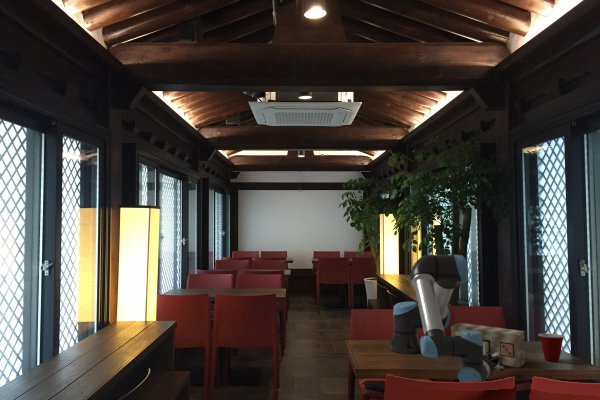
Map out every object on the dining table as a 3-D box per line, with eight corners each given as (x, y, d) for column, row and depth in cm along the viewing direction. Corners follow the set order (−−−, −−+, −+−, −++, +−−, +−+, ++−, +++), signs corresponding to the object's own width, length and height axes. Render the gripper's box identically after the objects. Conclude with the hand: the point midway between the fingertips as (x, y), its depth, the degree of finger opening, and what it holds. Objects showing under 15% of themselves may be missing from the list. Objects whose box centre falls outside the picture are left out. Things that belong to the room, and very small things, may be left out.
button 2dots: (473, 353, 209) (473, 342, 209) (479, 350, 216) (478, 339, 216) (484, 355, 206) (484, 344, 206) (490, 351, 213) (490, 340, 213)
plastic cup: (560, 358, 219) (559, 332, 220) (568, 364, 209) (568, 337, 209) (535, 356, 221) (535, 331, 222) (542, 363, 211) (541, 336, 211)
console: (451, 356, 222) (451, 326, 223) (459, 351, 230) (458, 322, 231) (519, 367, 204) (518, 335, 204) (524, 362, 212) (524, 331, 213)
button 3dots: (500, 354, 208) (500, 343, 208) (505, 350, 215) (505, 339, 215) (512, 356, 205) (512, 345, 205) (517, 352, 211) (517, 341, 212)
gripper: (463, 375, 182) (481, 362, 201) (498, 382, 174) (514, 367, 193) (463, 355, 183) (481, 344, 201) (498, 361, 175) (513, 349, 193)
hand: (497, 355), depth 197 cm, fingers closed
